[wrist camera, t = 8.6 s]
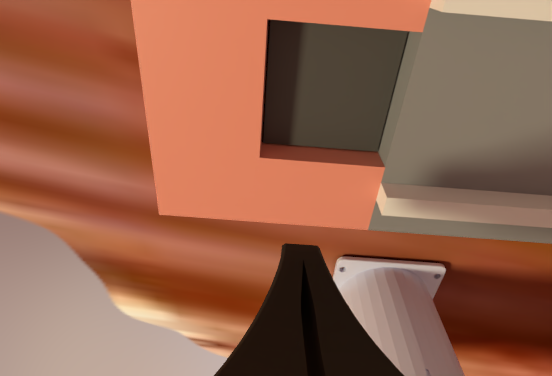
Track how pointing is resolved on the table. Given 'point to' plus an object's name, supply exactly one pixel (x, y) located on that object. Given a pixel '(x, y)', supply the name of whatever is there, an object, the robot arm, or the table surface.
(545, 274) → the table surface
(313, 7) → the chute board
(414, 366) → the robot arm
